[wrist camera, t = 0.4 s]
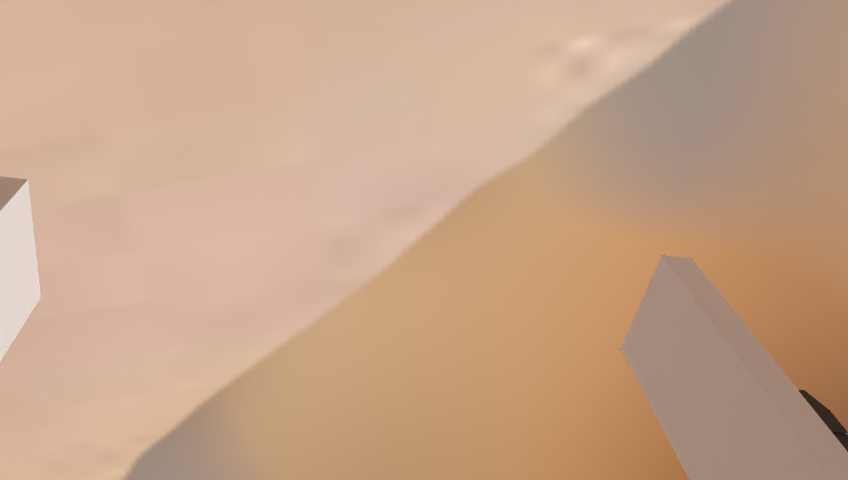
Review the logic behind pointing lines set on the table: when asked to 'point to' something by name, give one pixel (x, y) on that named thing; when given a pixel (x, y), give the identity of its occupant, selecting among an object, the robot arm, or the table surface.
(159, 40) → the table surface
